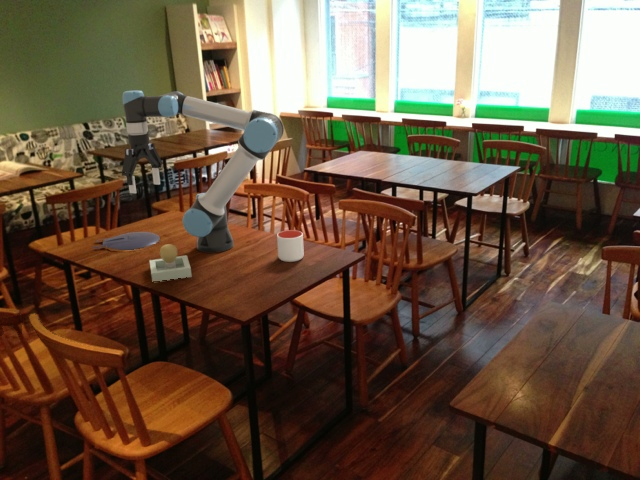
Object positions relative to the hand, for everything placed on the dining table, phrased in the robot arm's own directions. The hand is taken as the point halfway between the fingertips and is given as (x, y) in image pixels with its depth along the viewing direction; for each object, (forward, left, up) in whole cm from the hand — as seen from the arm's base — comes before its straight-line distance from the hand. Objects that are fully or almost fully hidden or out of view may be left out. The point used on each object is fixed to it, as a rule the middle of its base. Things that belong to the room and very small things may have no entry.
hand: (145, 188), depth 226 cm
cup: (-51, +22, -29) cm, 62 cm away
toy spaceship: (+10, -23, -29) cm, 39 cm away
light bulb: (-5, +19, -28) cm, 34 cm away
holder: (-5, +19, -28) cm, 35 cm away
